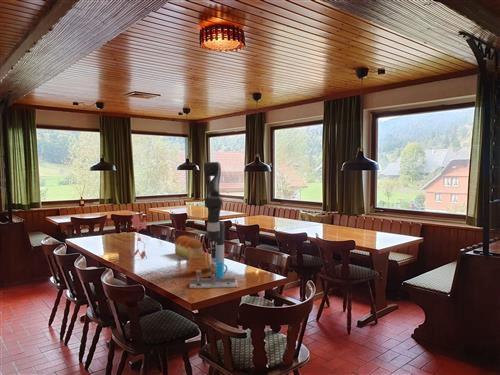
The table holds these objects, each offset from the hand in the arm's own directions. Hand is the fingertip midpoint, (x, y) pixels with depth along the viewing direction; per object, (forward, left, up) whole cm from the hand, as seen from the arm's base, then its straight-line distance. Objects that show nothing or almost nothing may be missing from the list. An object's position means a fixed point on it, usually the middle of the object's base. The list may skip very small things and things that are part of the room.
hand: (213, 256), depth 229 cm
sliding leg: (+2, 0, -14) cm, 15 cm away
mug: (-17, +4, -17) cm, 24 cm away
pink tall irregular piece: (-70, -59, -17) cm, 93 cm away
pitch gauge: (+3, 0, -17) cm, 17 cm away
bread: (-77, -19, -17) cm, 81 cm away
